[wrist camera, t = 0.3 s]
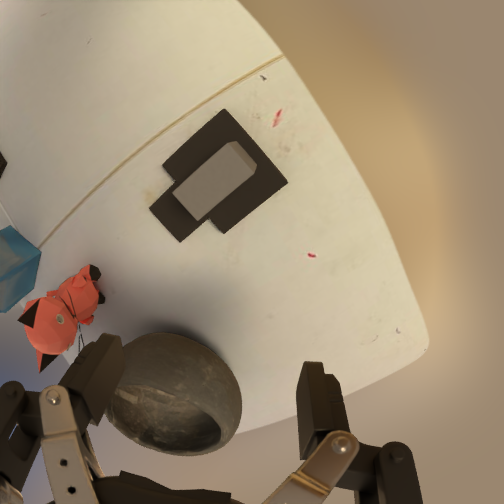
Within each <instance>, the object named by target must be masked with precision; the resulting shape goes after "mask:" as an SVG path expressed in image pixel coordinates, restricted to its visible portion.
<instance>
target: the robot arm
mask: <svg viewBox="0 0 504 504" xmlns="http://www.w3.org/2000/svg"><path fill="white" fill-rule="evenodd" d="M125 366H126V361H125V357H124V352H123V347H122V343H121V338H120V337H119V336H116V335H112V334H107V333H103V334H102V335H101V336H100V337H99V339H98V340H97V342H93V341H92V342H91V343H89V344H88V345H86V346H85V347H83V349H82V350H81V352H80V353H79V354H78V356H77V357H76V359H75V360H74V363H72V364H71V366H70V367H69V369H68V370H67V372H66V373H65V375H64V376H63V378H62V379H61V381H60V382H59V383H58V385H51V386H48V387H46V388H44V389H43V390H42V392H32V391H25V389H24V387H23V385H22V384H21V383H19V382H17V381H9V382H6V383H5V384H3V385H2V386H1V388H0V504H23V497H22V495H21V491H22V488H23V486H24V483H25V481H26V478H27V476H28V473H29V471H30V469H31V467H32V464H33V462H34V460H35V457H36V455H37V453H38V451H39V449H40V446H41V447H42V452H43V457H44V462H45V466H46V471H47V475H48V479H49V483H50V486H51V490H52V494H53V497H54V500H53V501H51V502H49V503H47V504H244V503H241V502H239V501H237V500H234V499H231V493H228V492H219V491H212V490H205V489H197V490H171V489H169V488H167V487H165V486H163V485H160V484H158V483H156V482H154V481H152V480H150V479H148V478H146V477H142V476H139V475H135V474H131V473H128V472H125V471H122V470H121V472H120V475H119V476H107V477H105V476H104V474H103V472H102V470H101V468H100V466H99V464H98V461H97V459H96V456H95V453H94V450H93V447H92V444H91V441H90V438H89V434H88V431H87V429H86V428H87V426H88V424H89V423H90V424H93V425H96V426H98V424H99V422H100V420H101V418H102V416H103V414H104V412H105V410H106V408H107V406H108V404H109V402H110V400H111V398H112V396H113V394H114V392H115V390H116V388H117V386H118V384H119V382H120V380H121V378H122V376H123V374H124V371H125ZM296 404H297V418H298V432H299V449H300V460H306V461H305V462H304V463H303V464H302V465H301V466H300V467H299V468H298V470H296V472H293V473H292V474H290V476H288V477H287V478H286V480H285V481H284V482H283V483H282V484H281V485H280V486H279V487H278V488H277V489H276V490H275V491H274V492H273V493H272V494H271V495H270V496H269V497H268V498H267V499H266V500H265V501H264V502H263V503H262V504H322V503H323V501H324V500H325V499H326V498H327V496H328V495H329V493H330V492H331V490H332V489H333V488H334V487H339V488H343V489H349V490H354V498H355V504H423V501H422V495H421V491H420V486H419V481H418V477H417V472H416V468H415V463H414V459H413V455H412V452H411V450H410V449H409V447H408V446H406V445H405V444H403V443H401V442H389V443H387V444H385V445H384V446H383V447H382V448H381V447H375V446H370V445H366V444H363V443H361V442H359V441H358V440H357V438H356V437H355V436H354V435H353V434H351V432H350V429H349V424H348V420H347V415H346V410H345V405H344V402H343V396H342V392H341V387H340V383H339V382H338V380H337V379H336V378H335V376H334V375H333V374H325V373H324V368H323V363H322V362H310V361H305V362H304V363H303V367H302V370H301V374H300V377H299V381H298V384H297V390H296ZM16 424H17V426H16V428H15V430H14V432H13V434H12V436H11V437H10V434H11V433H12V431H13V429H14V427H15V425H16ZM9 437H10V439H9Z"/></svg>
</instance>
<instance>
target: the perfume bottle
mask: <svg viewBox="0 0 504 504" xmlns="http://www.w3.org/2000/svg"><path fill="white" fill-rule="evenodd" d="M40 256H41V252H40V251H39V250H38V249H37V248H36V247H34V246H33V245H32V244H31V243H30V242H28V241H27V240H26V239H25V238H24V237H23V236H21V235H20V234H19V233H18V232H17V231H16V230H15V229H14V228H12V227H11V226H8V227H6V228H4V229H2V230H1V231H0V313H6V312H7V311H9V310H10V309H11V308H12V307H13V306H14V305H15V304H16V303H17V302H19V301H20V300H21V299H22V298H23V297H24V296H26V295H27V294H28V293H29V292H30V291H31V290H33V289H34V284H35V279H36V274H37V269H38V265H39V260H40Z"/></svg>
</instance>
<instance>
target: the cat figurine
mask: <svg viewBox="0 0 504 504" xmlns="http://www.w3.org/2000/svg"><path fill="white" fill-rule="evenodd" d="M100 276H101V273H100V271H99V269H98V268H97V267H95V266H93V265H90V264H89V265H88V266H86V267H84V268H82V269H81V270H80V272H79V273H78V274H76V275H75V277H70V278H68V279H67V280H66V281H65V282H64V283H62V284H61V285H60V286H59V289H58V290H54V291H49V292H47V297H41V298H38V299H35V300H32V301H29V302H27V304H26V307H25V310H24V312H23V314H22V315H21V316H20V318H19V319H18V321H19V322H22V323H23V324H24V326H25V331H26V334H27V337H28V339H29V341H30V342H31V344H32V345H33V347H34V348H36V353H37V361H38V368H39V373H40V372H42V370H44V369H45V368H46V367H47V366H48V365H49V364H50V363H51V362H52V361H53V360H54V359H55V358H56V357H57V356H58V355H59V354H61V353H62V352H64V351H65V350H66V349H67V351H68V349H69V347H71V346H72V345H73V343H74V340H75V336H76V333H77V325H78V322H80V323H82V324H86V325H90V324H91V323H92V321H93V319H94V315H92V314H93V312H94V311H95V310H96V309H97V305H98V304H104V303H105V297H104V296H103V295H102V293H101V292H100V291H99V290H96V289H95V287H94V285H93V283H92V282H95V281H98V279H99V278H100ZM53 296H55V298H53ZM79 329H80V325H79ZM80 332H81V331H80ZM81 338H82V335H81ZM82 342H83V339H82ZM83 347H84V343H83ZM79 352H80V336H79Z"/></svg>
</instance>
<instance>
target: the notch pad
mask: <svg viewBox="0 0 504 504" xmlns="http://www.w3.org/2000/svg"><path fill="white" fill-rule="evenodd" d="M6 165H7V162H6V160H5V159H4V157H3V156H2V154H1V153H0V177H1V175H2V173H3V171H4V169H5V167H6Z"/></svg>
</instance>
